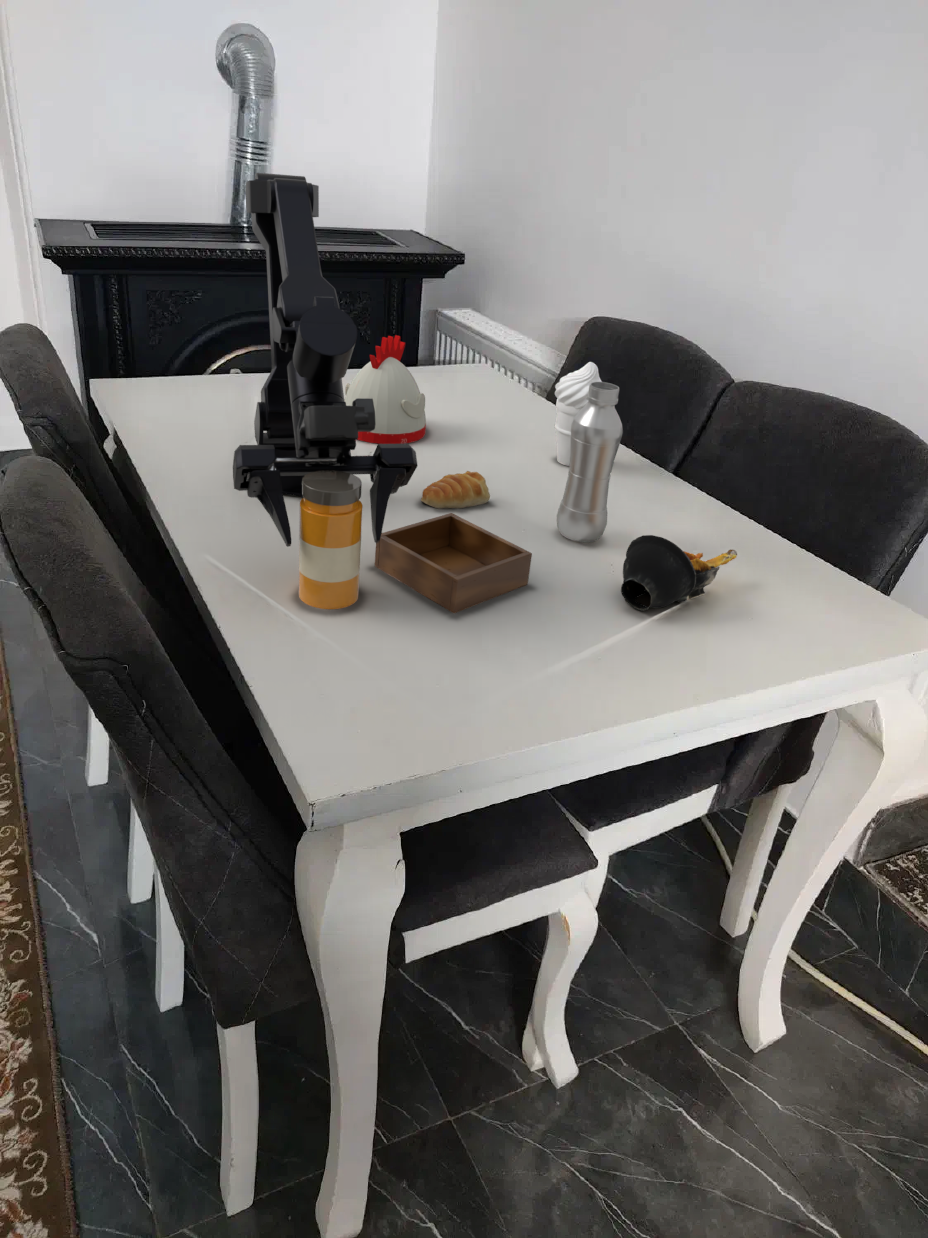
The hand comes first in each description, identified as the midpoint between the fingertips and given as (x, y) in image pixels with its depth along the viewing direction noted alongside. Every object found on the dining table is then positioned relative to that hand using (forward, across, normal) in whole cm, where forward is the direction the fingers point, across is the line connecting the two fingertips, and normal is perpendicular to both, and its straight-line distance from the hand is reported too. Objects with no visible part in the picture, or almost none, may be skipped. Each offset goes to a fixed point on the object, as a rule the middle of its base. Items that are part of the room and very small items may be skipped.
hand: (333, 543), depth 95 cm
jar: (+4, 0, +6) cm, 7 cm away
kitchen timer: (-35, +19, +45) cm, 60 cm away
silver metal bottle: (-4, +35, +15) cm, 38 cm away
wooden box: (+2, +15, +8) cm, 17 cm away
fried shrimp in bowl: (+8, +40, +3) cm, 41 cm away
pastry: (-13, +22, +24) cm, 35 cm away
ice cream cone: (-24, +46, +34) cm, 62 cm away
